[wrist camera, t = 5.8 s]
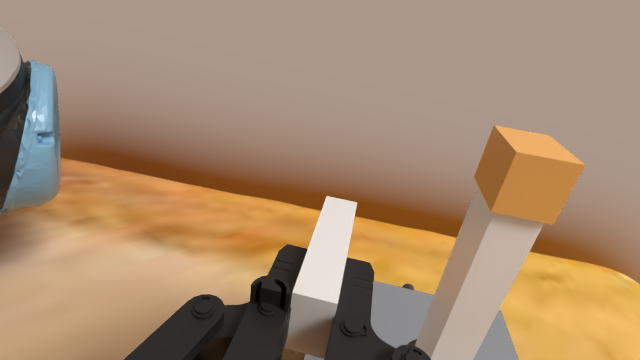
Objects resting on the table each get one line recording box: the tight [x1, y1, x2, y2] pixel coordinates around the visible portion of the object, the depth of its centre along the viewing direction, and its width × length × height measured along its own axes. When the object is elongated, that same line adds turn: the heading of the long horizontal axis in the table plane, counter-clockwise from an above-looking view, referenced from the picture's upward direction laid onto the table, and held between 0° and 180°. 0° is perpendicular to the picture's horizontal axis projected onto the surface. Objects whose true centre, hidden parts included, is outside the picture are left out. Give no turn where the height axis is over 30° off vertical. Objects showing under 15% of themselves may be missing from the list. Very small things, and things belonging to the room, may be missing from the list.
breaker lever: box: [408, 126, 585, 360], centre depth 17 cm, size 4×2×15 cm, turn 171°
